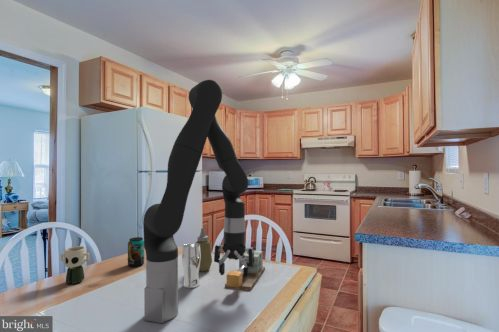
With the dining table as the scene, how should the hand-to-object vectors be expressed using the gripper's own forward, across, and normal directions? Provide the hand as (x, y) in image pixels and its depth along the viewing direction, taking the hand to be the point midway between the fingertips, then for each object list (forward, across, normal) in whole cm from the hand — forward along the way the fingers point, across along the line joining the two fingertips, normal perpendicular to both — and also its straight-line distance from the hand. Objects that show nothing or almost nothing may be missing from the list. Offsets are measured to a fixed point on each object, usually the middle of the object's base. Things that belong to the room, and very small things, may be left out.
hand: (233, 275), depth 100 cm
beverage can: (+7, -53, +15) cm, 55 cm away
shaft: (+3, 0, +10) cm, 10 cm away
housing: (+6, 0, +15) cm, 16 cm away
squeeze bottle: (+6, -21, +18) cm, 29 cm away
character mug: (+7, -63, -8) cm, 64 cm away
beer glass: (+7, -18, +2) cm, 19 cm away
